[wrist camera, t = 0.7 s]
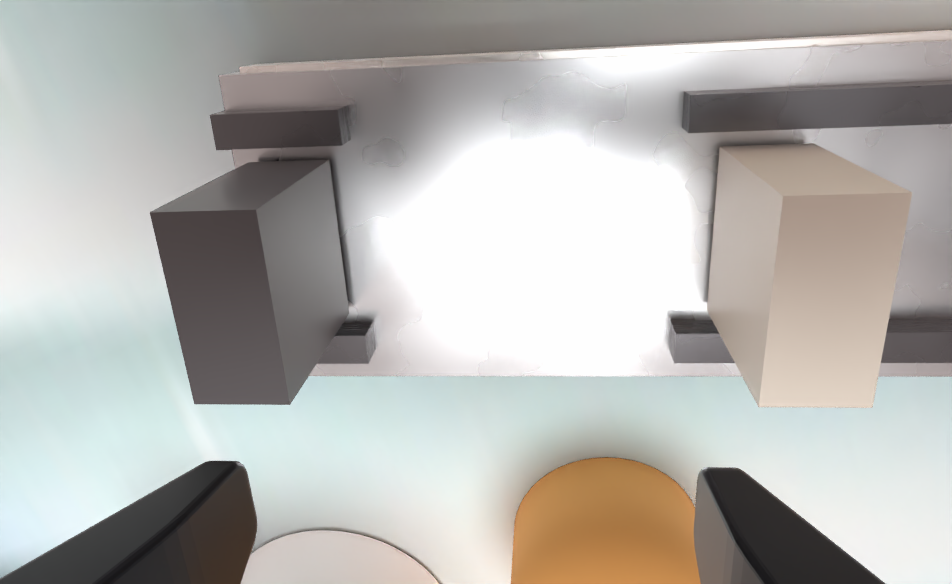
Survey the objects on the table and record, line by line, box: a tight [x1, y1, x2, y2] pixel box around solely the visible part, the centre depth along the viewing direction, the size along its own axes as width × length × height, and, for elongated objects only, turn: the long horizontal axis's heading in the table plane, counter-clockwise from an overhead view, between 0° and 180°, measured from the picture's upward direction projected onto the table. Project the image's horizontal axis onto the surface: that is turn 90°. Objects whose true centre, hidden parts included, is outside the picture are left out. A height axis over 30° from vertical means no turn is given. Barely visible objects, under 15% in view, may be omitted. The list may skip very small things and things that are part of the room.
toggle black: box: [150, 160, 349, 405], centre depth 15 cm, size 2×4×4 cm, turn 4°
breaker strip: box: [210, 30, 952, 376], centre depth 17 cm, size 18×8×3 cm, turn 94°
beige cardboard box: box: [707, 143, 912, 408], centre depth 14 cm, size 2×4×4 cm, turn 4°
